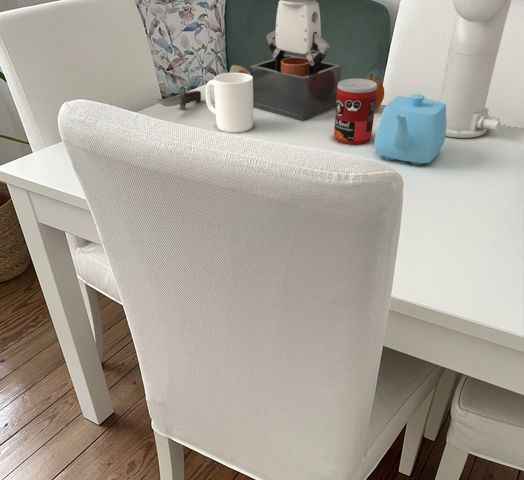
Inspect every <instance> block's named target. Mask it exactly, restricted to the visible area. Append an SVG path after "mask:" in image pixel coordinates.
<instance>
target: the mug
mask: <svg viewBox="0 0 524 480" xmlns="http://www.w3.org/2000/svg"><path fill="white" fill-rule="evenodd" d="M228 73H245V74H249V75H250V70H248V69H246V68H245V67H243V66H241V65H239V64H238V65H237V64H232V65H231V66H230V69H229V72H228Z"/></svg>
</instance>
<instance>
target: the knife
mask: <svg viewBox="0 0 524 480" xmlns="http://www.w3.org/2000/svg"><path fill="white" fill-rule="evenodd" d="M201 92H202V91H201V90H190V91H187V92H186V88H185V87H180V88H179V94H177V95H173V96H169V97H165V98H156V100H157V102H158V104H160V105H161V106H164V107H175V106H179V107H180V109H181V110H186V105H187V104H190V103H194V102H197V103H199V102H201V101H202V93H201Z"/></svg>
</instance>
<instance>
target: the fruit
mask: <svg viewBox="0 0 524 480" xmlns="http://www.w3.org/2000/svg"><path fill="white" fill-rule="evenodd" d="M364 79H367V80H371V81H374V82H376V83H377V96H376V104H375V110H377V109H378V108H379V107H380V106H381V105H382V103H383V101H384V98H385V86H384V85H383V83H382V81H380V80H379V79H378V78H374V77H373V73H371V74H370V77H365V78H364Z"/></svg>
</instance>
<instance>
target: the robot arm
mask: <svg viewBox="0 0 524 480" xmlns="http://www.w3.org/2000/svg"><path fill="white" fill-rule="evenodd" d="M452 3H453V6H454V9H455V11H456V16H455V19H454V22H453V23H454V24H453V29H452V32H451V38H450V44H449V48H448V53H447V58H446V64H445V69H444V70H445V71H444V75H443V80H442V86H441V91H440V96H439V100H438V101H439V102H443V103H445V105H446V136H445V137H450V138H459V139H462V138H463V139H467V138H469V139H470V138H471V139H472V138H476V137H481V136H483V135H485V134H486V133H487V131H488V130H492V131H494V132H495V131H496V132H497V131H498V130H499V128H500V126H501V121H500V118H499V117H495V116H490V115H489V111H490V108H487V107H486V103H487V100H488V95H489V91H490V88H491V83H492V78H493V75H494V70H495V65H496V61H497V57H498V53H499V50H500V46H501V42H502V37H503V33H504V30H505V25H506V22H507V18H508V14H509V11H510V7H511V4H512V0H452ZM265 38H266V40H267V44H268V48H269V50H270V52H271V53H272V58H273V59H275V70H276V71H280V72H281V60H282V59H285V53H291V54H295V55H301V56H305V58H307V59H308V61H309V63H310V65H308V70H307V76H308V75H310V74H313V73H316V72H318V69H319V64H320V63H321V61H322V62H323V60H324V59H325V58H326V56H327V53H328V51H329V49H330V44H329V43H328V42H327V41H326V40H325V39H324V38H323V37H322V24H321V10H320V4H319V2H318V1H316V0H279V1H278V5H277V10H276V18H275V29H274V30H272V31H271V32H269V33H267V34H266V37H265Z"/></svg>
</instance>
